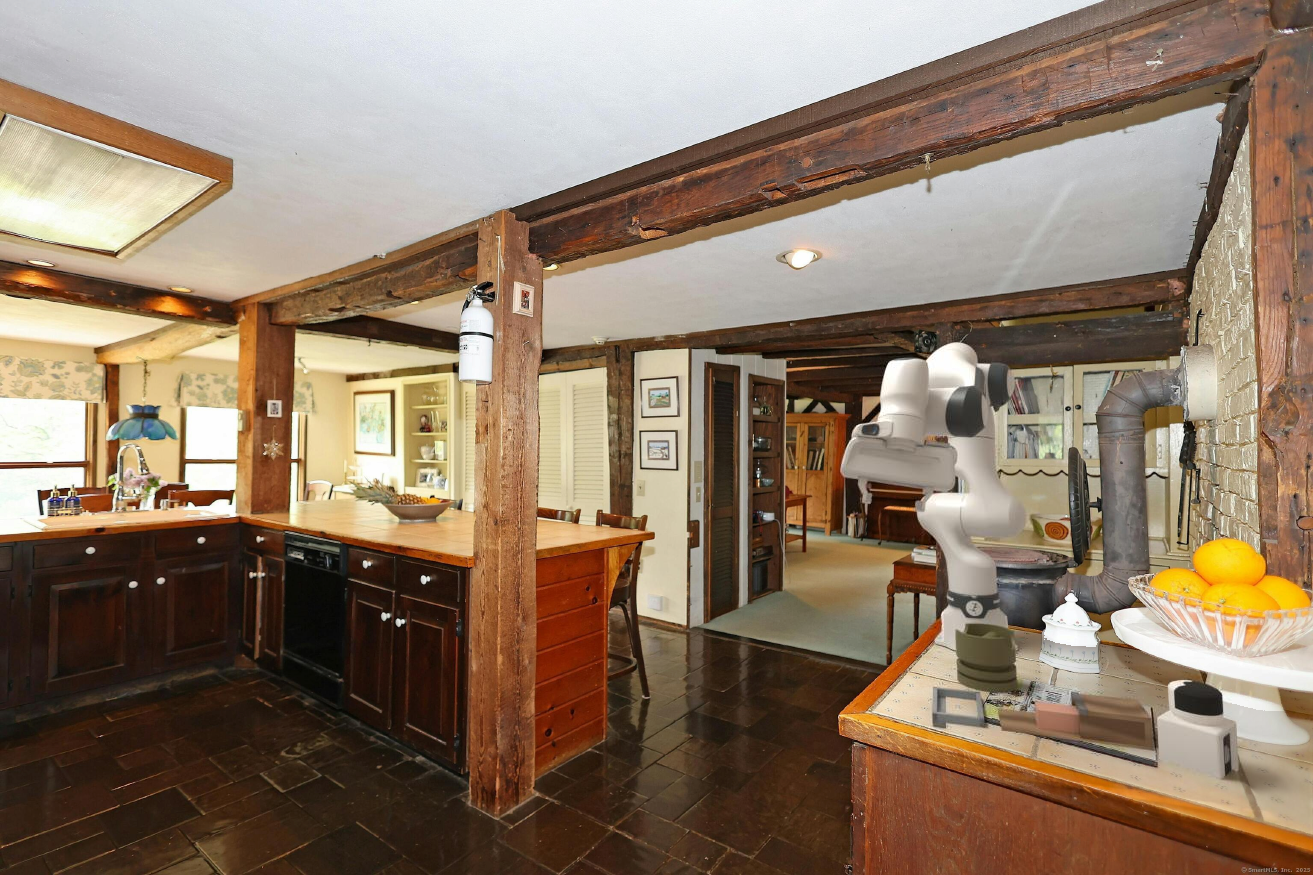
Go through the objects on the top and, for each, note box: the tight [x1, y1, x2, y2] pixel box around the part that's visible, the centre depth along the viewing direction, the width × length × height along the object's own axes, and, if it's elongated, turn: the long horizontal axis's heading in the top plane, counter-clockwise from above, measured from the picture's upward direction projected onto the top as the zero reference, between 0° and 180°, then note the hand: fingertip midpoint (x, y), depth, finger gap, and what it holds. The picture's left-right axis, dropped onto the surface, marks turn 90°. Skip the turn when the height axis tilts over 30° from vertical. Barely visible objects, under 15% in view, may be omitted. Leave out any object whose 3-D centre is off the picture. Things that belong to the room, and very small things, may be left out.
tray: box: [931, 686, 986, 729], centre depth 121 cm, size 14×9×2 cm, turn 156°
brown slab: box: [996, 691, 1156, 751], centre depth 112 cm, size 10×22×6 cm, turn 66°
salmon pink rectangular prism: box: [1034, 701, 1079, 733], centre depth 112 cm, size 4×10×3 cm, turn 66°
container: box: [1156, 679, 1240, 780], centre depth 99 cm, size 8×8×13 cm
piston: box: [955, 623, 1018, 694], centre depth 134 cm, size 11×12×11 cm
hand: (892, 507), depth 117 cm, fingers open, 8 cm apart
